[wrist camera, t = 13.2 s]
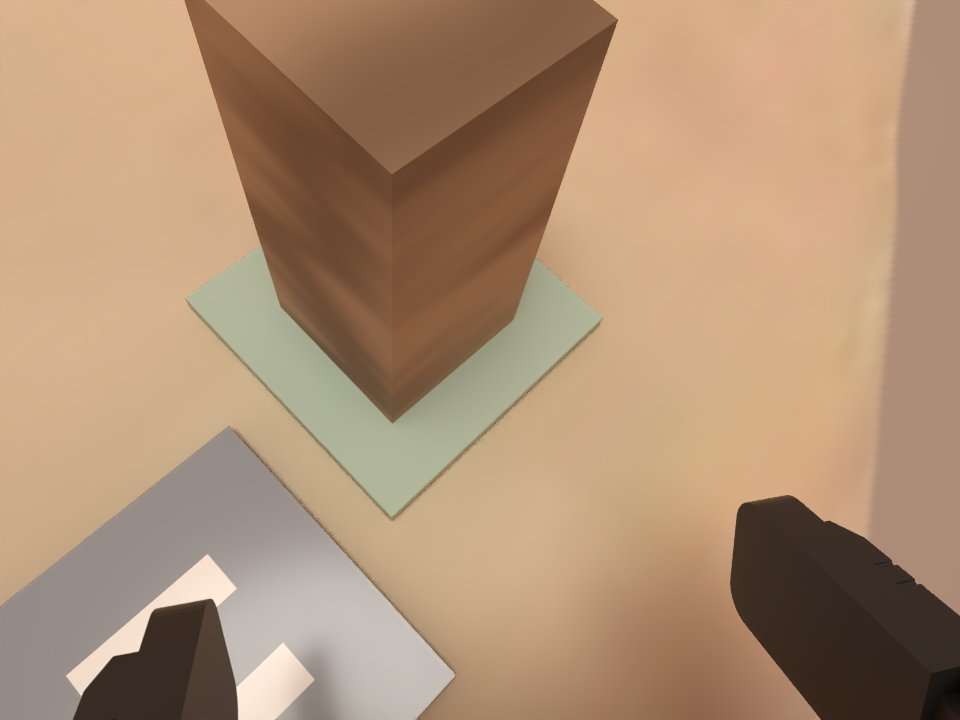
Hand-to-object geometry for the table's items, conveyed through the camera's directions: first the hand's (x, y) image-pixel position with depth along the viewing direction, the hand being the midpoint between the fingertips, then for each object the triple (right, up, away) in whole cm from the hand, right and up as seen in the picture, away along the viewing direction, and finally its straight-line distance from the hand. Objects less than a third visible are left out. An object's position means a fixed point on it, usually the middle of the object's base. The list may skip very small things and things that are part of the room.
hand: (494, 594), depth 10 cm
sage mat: (-3, +5, +11) cm, 13 cm away
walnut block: (-3, +5, +11) cm, 12 cm away
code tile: (-7, -4, +7) cm, 11 cm away
